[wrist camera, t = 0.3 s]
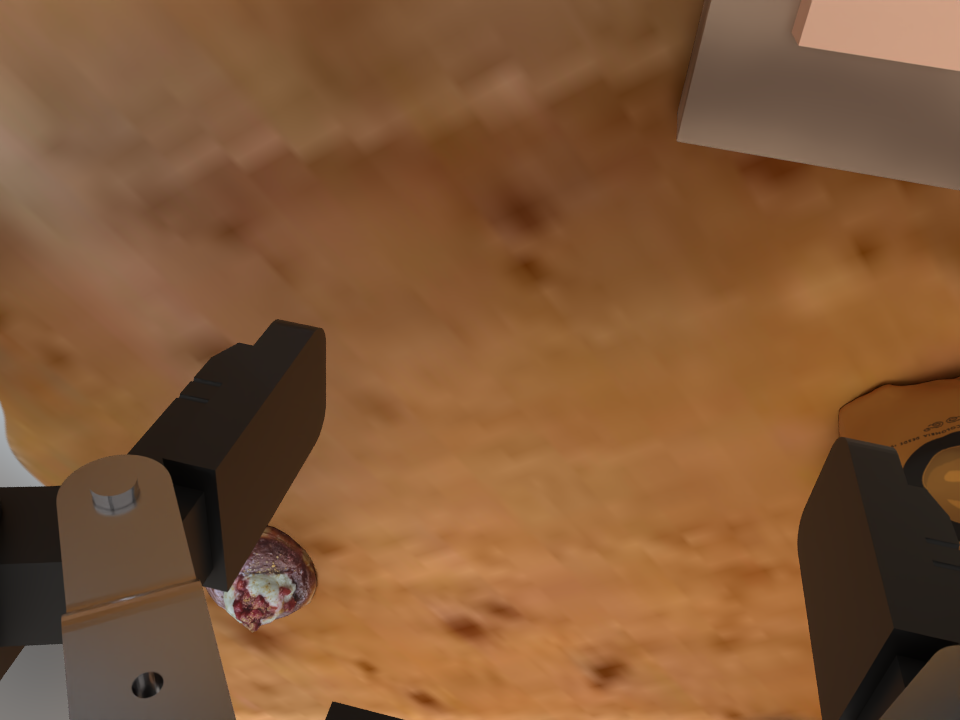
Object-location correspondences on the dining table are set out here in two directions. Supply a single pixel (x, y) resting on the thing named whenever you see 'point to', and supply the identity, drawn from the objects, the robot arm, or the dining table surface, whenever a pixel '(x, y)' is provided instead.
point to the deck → (816, 99)
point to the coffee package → (915, 434)
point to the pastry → (269, 582)
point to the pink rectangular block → (884, 29)
